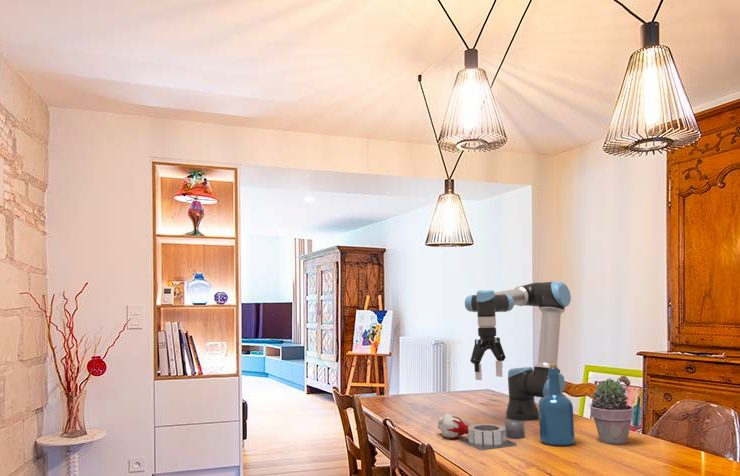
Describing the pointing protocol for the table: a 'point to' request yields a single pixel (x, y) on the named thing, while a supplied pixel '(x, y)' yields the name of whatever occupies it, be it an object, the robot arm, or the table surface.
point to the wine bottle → (556, 414)
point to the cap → (514, 429)
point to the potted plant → (612, 411)
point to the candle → (452, 426)
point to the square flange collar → (487, 437)
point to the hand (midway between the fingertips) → (489, 378)
